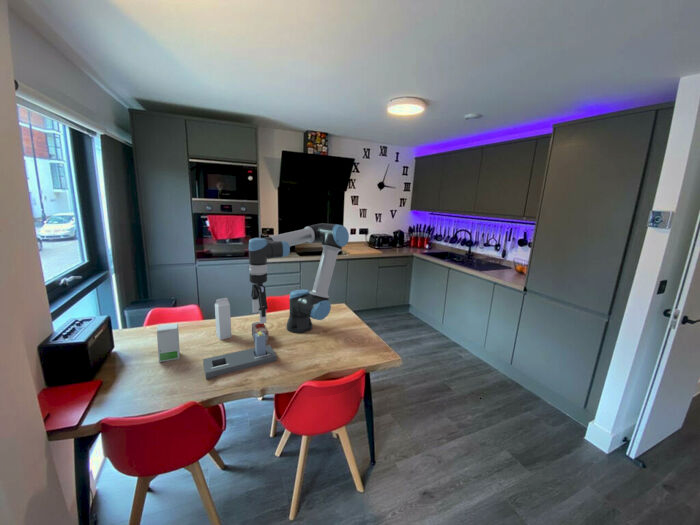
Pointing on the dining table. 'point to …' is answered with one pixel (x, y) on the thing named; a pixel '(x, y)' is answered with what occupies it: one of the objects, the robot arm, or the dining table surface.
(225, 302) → the milk
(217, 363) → the panel
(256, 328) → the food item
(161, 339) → the skincare box
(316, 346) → the dining table surface
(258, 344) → the plug
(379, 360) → the dining table surface
